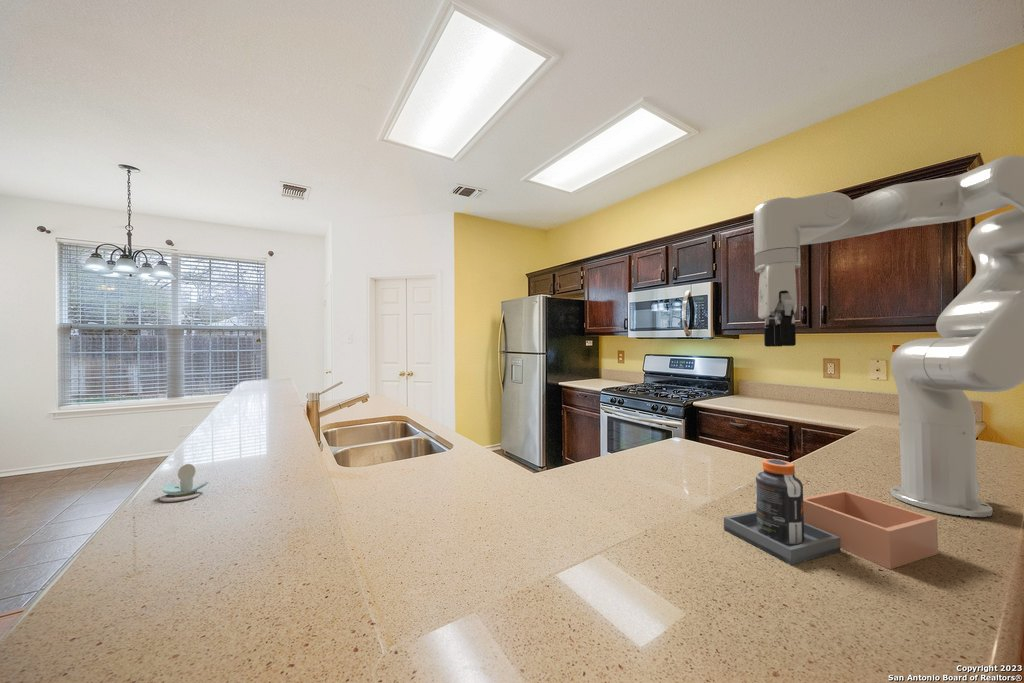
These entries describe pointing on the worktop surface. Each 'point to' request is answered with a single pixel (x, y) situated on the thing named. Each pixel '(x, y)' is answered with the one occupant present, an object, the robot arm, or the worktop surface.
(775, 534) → the pill bottle
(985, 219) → the robot arm
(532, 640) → the worktop surface
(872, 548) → the frame
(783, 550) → the charcoal tray
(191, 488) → the pacifier
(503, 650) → the worktop surface
